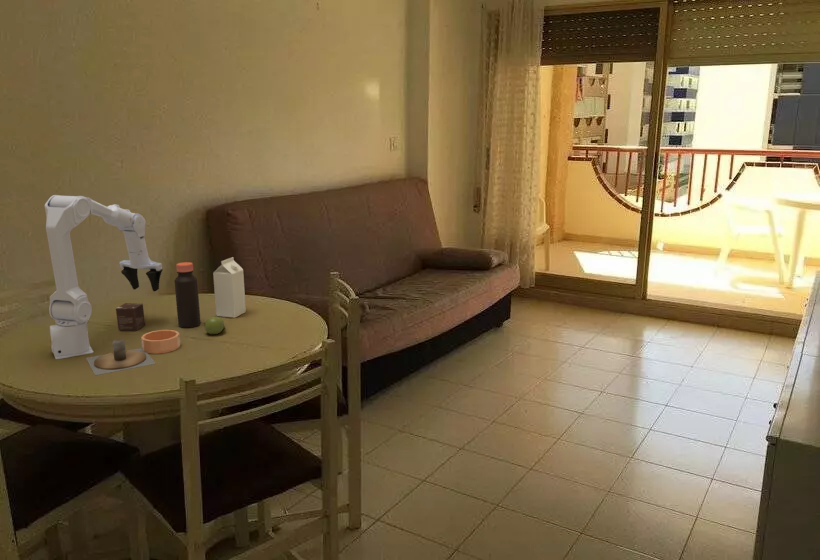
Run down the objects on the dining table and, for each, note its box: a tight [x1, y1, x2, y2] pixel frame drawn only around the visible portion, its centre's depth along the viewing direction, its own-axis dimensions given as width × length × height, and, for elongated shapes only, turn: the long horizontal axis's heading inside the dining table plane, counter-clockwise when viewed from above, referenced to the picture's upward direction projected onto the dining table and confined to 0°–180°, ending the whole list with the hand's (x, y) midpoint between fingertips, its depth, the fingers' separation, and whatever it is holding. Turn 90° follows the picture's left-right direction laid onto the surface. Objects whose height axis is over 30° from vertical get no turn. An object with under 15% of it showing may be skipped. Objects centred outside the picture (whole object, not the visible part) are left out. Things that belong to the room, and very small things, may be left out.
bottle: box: [174, 261, 201, 329], centre depth 211 cm, size 7×7×20 cm
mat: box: [85, 347, 156, 376], centre depth 181 cm, size 15×15×1 cm
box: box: [115, 302, 146, 332], centre depth 209 cm, size 6×6×7 cm
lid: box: [94, 339, 146, 370], centre depth 180 cm, size 13×13×6 cm
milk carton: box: [212, 256, 247, 319], centre depth 222 cm, size 7×7×19 cm
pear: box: [204, 316, 226, 335], centre depth 206 cm, size 6×5×10 cm
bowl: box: [140, 329, 181, 355], centre depth 191 cm, size 10×10×4 cm
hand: (146, 289), depth 215 cm, fingers open, 7 cm apart
